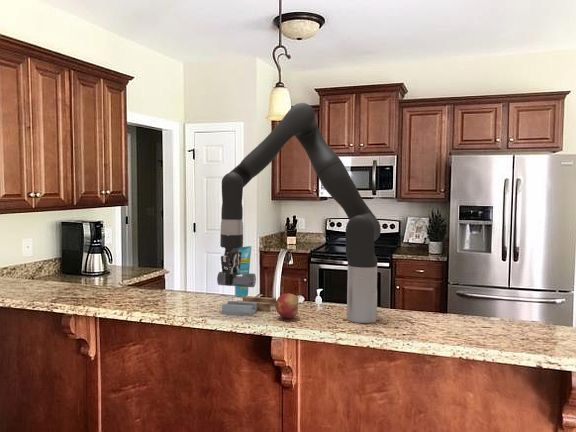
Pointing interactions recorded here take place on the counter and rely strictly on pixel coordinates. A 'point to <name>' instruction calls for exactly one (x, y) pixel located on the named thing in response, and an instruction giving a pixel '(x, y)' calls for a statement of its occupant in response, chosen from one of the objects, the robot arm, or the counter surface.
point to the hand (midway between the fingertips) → (231, 283)
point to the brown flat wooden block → (261, 302)
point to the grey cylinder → (238, 279)
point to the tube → (244, 269)
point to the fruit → (287, 305)
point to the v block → (239, 308)
